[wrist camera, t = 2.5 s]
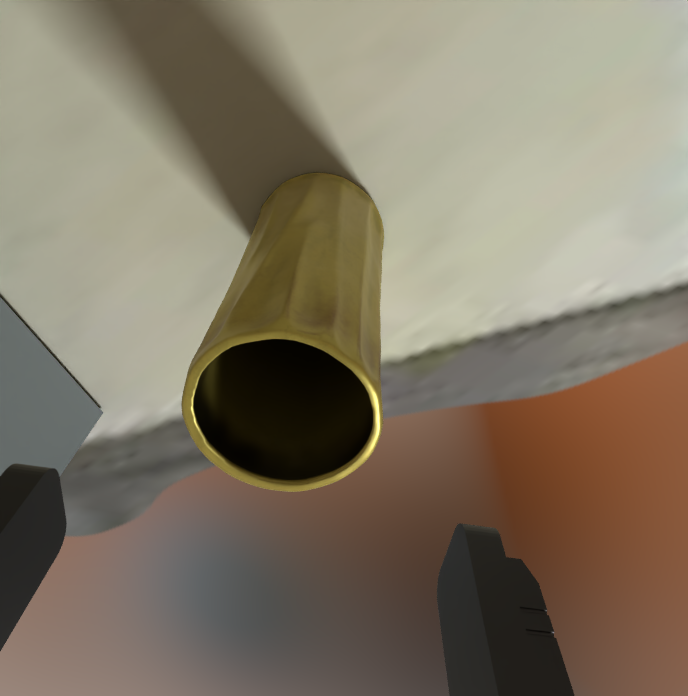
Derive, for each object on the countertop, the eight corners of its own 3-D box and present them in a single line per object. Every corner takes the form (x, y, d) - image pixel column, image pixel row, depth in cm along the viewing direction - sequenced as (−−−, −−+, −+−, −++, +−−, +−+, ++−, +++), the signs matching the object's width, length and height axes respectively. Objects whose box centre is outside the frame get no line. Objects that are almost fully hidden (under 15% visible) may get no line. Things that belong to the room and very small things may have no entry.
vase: (279, 150, 24) (192, 275, 12) (404, 201, 25) (444, 365, 13) (242, 269, 27) (142, 467, 15) (356, 310, 28) (349, 528, 16)
